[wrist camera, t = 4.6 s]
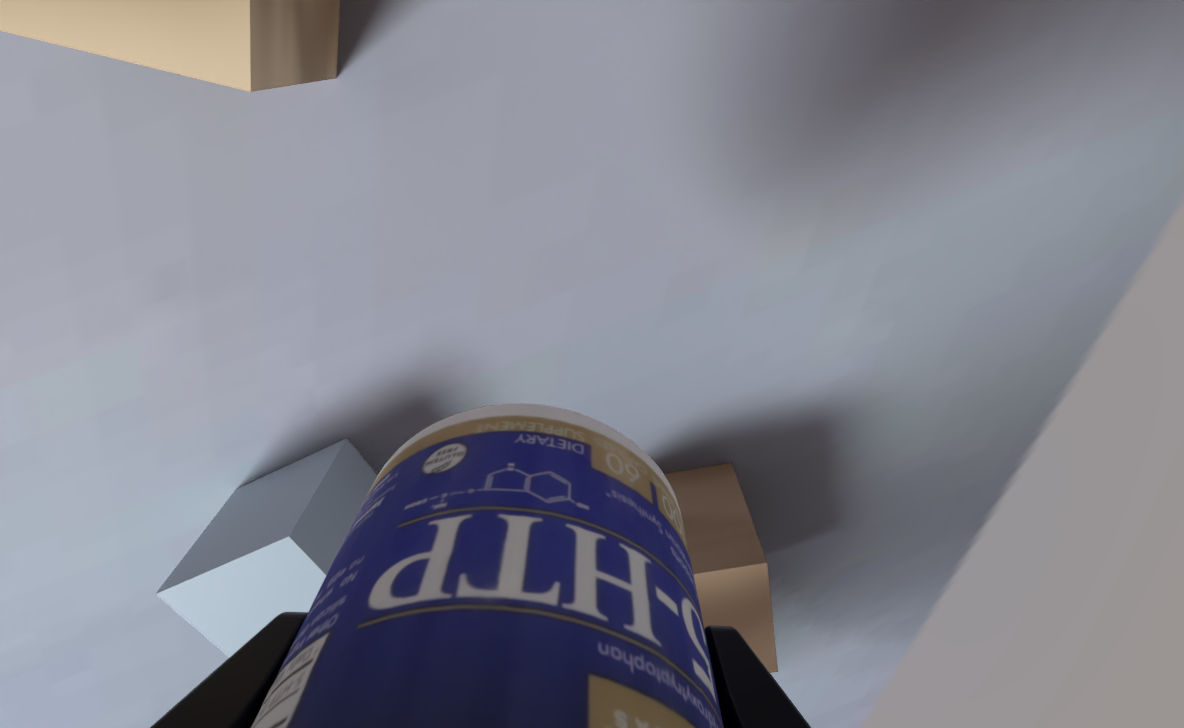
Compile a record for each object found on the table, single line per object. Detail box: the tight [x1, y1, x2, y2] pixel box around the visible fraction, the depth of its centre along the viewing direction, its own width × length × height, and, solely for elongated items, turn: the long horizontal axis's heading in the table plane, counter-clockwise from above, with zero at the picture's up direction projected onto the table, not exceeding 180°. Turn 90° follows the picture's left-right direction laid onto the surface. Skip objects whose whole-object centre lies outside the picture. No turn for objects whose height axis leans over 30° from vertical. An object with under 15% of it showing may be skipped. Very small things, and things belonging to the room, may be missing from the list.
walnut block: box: [664, 463, 778, 673], centre depth 22 cm, size 5×5×5 cm
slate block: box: [156, 438, 378, 658], centre depth 21 cm, size 5×5×5 cm
